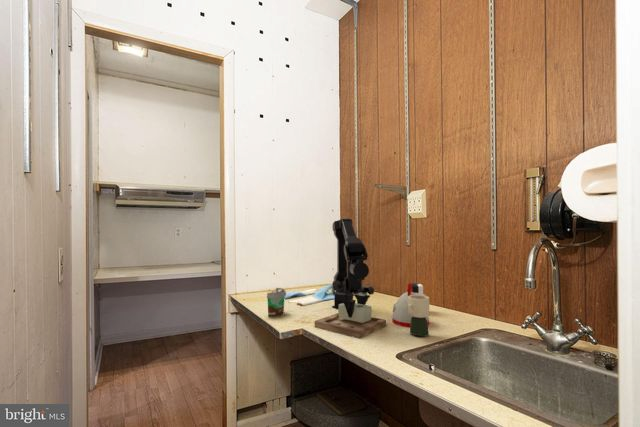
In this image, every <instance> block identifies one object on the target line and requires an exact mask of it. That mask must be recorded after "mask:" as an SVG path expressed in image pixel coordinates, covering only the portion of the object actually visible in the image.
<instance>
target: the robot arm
mask: <svg viewBox="0 0 640 427" xmlns="http://www.w3.org/2000/svg"><path fill="white" fill-rule="evenodd" d="M353 224H354V223H353V220H352V218H340V219H338V220H334V221H333V222H332V225H331V226H332V231H333V236H334V237H335V238H336V240H337V241H336V242H337V244H336V250H337V252H336V254H337V256H336V258H337V259H336V260H337V261H336V263H337V268H336V273H335V275H334V276H333V281H332V283H331V285H332V288H331V289H330V290H331V292H332V294H333V295H334V299H333V302H334V304H333V305H331V307H332V308H333V309H334V308H335V309H339V304H342V303H344V305H345V308H346V310H347V313H348V316H349V317H350V318H351V317H352V315H353V310H354V306H355V303H357V304H363V305H367V302H368V300H369V299H370V297H371V295H374V294H375V289H374V287H373V286H372V285H371V286H370V285H364V284H363V281H365V278H366V277H367V276H368V275H369V273H370V268H369V266H368V265H367V264H366V263H365V262H364V261H368V257H369V255H368V252H367V248H366V245H365V244H364V243H363V241H362V239H361V238H359V237H357V233H356V232H355V229H354V225H353ZM354 297H355V299H354Z"/></svg>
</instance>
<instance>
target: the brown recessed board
mask: <svg viewBox="0 0 640 427" xmlns="http://www.w3.org/2000/svg"><path fill="white" fill-rule="evenodd" d="M386 326H387V320H386V319H384V318H378V317H373V316H371V320H369V321H366V322H364V323H361V322H356V321H352V320H347V319H342V318H339V312H338V313H337V312H336V313H335V314H331V315H327V316H325V317H321V318H319V319H316V320H314V327H315V328H317V329H321V330H326V331H330V332H334V333H337V334H341V335H346V336H349V337H352V336H353V337H352V338H358V339H360V338H363V337H366V336H367V335H369V334H371V333H373V332H375V331H378V330H380V329H382V328H384V327H386Z"/></svg>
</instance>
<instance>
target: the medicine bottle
mask: <svg viewBox="0 0 640 427" xmlns="http://www.w3.org/2000/svg"><path fill="white" fill-rule="evenodd" d="M411 286H412V292H414V293H415V294H417V295H423V296H426V294H424V285H423V284H421V283H411Z"/></svg>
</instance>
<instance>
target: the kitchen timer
mask: <svg viewBox="0 0 640 427" xmlns="http://www.w3.org/2000/svg"><path fill="white" fill-rule="evenodd" d="M411 284H412V283H411V282H409V283H408V284H407V291H406V292H404V293H402V294H400V296H399V298H398V299H397V300H396V302H395V303H394V304H393V306H392V315H391V317H392V318H391V319H392V321H391V322H392V323H393V324H394V325H396V326H399V327H403V328H409V329H410V324H411V318H412V316H411V315H409V313H408V296H410V295H417V294H415V293H414V292H412V286H411ZM425 318H426V319H427V324H428V326H429V325H430V315H429V316H428V317H425Z"/></svg>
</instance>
